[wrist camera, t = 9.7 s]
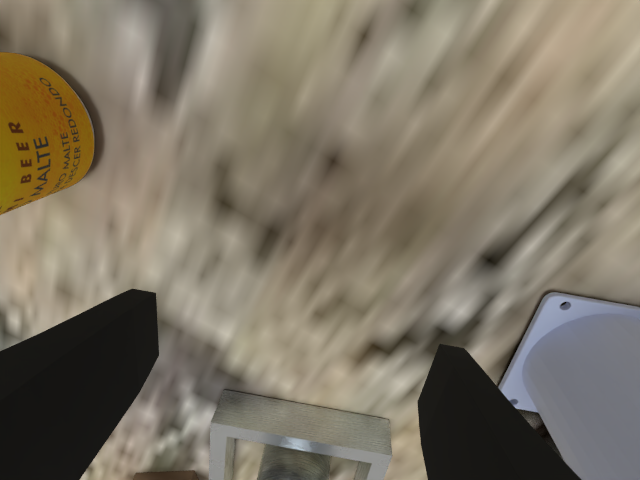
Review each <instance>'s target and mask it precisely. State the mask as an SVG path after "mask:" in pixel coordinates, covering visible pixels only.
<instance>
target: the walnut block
mask: <svg viewBox="0 0 640 480" xmlns="http://www.w3.org/2000/svg"><path fill="white" fill-rule="evenodd" d="M133 480H199V479H198V477H197V475H196V473H195V471H194V470H192V471H170V472H147V473H136V474H135V476H134V478H133Z"/></svg>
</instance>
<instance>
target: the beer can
mask: <svg viewBox="0 0 640 480" xmlns="http://www.w3.org/2000/svg"><path fill="white" fill-rule="evenodd" d="M94 141H95V140H94V128H93V124H92V121H91V118H90V115H89V113H88V111H87V109H86V107H85V105H84V103H83V102H82V101H81V99H80V98H79V96H78V95H77V94H76V93H75V91H74V90H73V89H72V88H71V87H70V86H69V84H68V83H67V82H66V81H65V80H64V79H63V78H62V77H61V76H59V75H58V74H57V73H56V72H55V71H53V70H52V69H51V68H49V67H48V66H46V65H44V64H43V63H41V62H39V61H37V60H35V59H33V58H31V57H28V56H25V55H21V54H16V53H7V52H0V215H1V214H4V213H6V212H9V211H11V210H13V209H16V208H18V207H21V206H23V205H26V204H28V203H31V202H33V201H36V200H38V199H41V198H43V197H45V196H48V195H50V194H53V193H55V192H58V191H60V190H63V189H65V188H68V187H70V186H72V185H74V184H76V183H77V182H79V181H80V180H81V179H82V178H83V177H84V176H85V174H86V173H87V171H88V170H89V168H90V166H91V163H92V160H93V156H94Z"/></svg>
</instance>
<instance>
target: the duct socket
mask: <svg viewBox="0 0 640 480" xmlns="http://www.w3.org/2000/svg"><path fill="white" fill-rule="evenodd" d="M236 438H237V439H243V440H248V441H254V442H259V443H264V444H270V445H275V446H281V447H286V448H292V449H297V450H302V451H308V452H313V453H319V454H324V455H329V456H335V457H340V458H346V459H351V460H356V461H360V462H359V465H358V468H357V471H356V475H355V478H354V480H383V479H384V477H385V474H386V471H387V469H388V466H389V463H390V460H391V458H392V449H391V438H390V428H389V419H383V418H378V417H372V416H367V415H361V414H356V413H350V412H345V411H339V410H334V409H329V408H323V407H318V406H312V405H307V404H301V403H296V402H290V401H285V400H279V399H274V398H268V397H263V396H257V395H252V394H246V393H241V392H236V391H230V390H225V389H224V391H223V394H222V396H221V399H220V401H219V404H218V406H217V408H216V411H215V413H214V416H213V418H212V421H211V431H210V460H209V480H232V476H233V464H234V451H235V439H236Z"/></svg>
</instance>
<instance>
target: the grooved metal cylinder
mask: <svg viewBox="0 0 640 480" xmlns="http://www.w3.org/2000/svg"><path fill="white" fill-rule="evenodd" d="M329 471H330V456H329V455H324V454H319V453H313V452H308V451H302V450H297V449H292V448H286V447H281V446H275V445H270V444H266V445H265V448H264V452H263V456H262V460H261V464H260V469H259V473H258V477H257V480H329Z"/></svg>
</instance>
